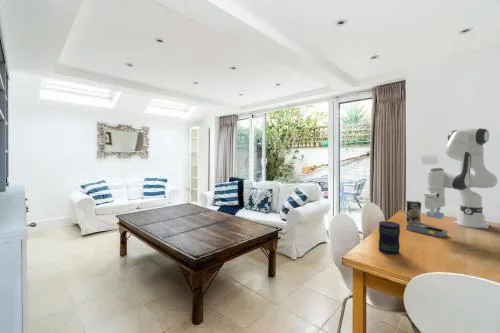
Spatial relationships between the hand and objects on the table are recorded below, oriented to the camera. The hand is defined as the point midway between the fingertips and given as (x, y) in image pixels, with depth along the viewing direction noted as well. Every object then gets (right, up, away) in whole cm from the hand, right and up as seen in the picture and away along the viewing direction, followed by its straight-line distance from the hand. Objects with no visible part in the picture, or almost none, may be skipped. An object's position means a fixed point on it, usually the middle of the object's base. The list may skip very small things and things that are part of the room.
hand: (435, 214), depth 157 cm
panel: (0, -2, 0) cm, 2 cm away
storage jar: (-45, -15, -27) cm, 55 cm away
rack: (-2, -13, +5) cm, 14 cm away
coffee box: (+5, -12, +30) cm, 33 cm away
